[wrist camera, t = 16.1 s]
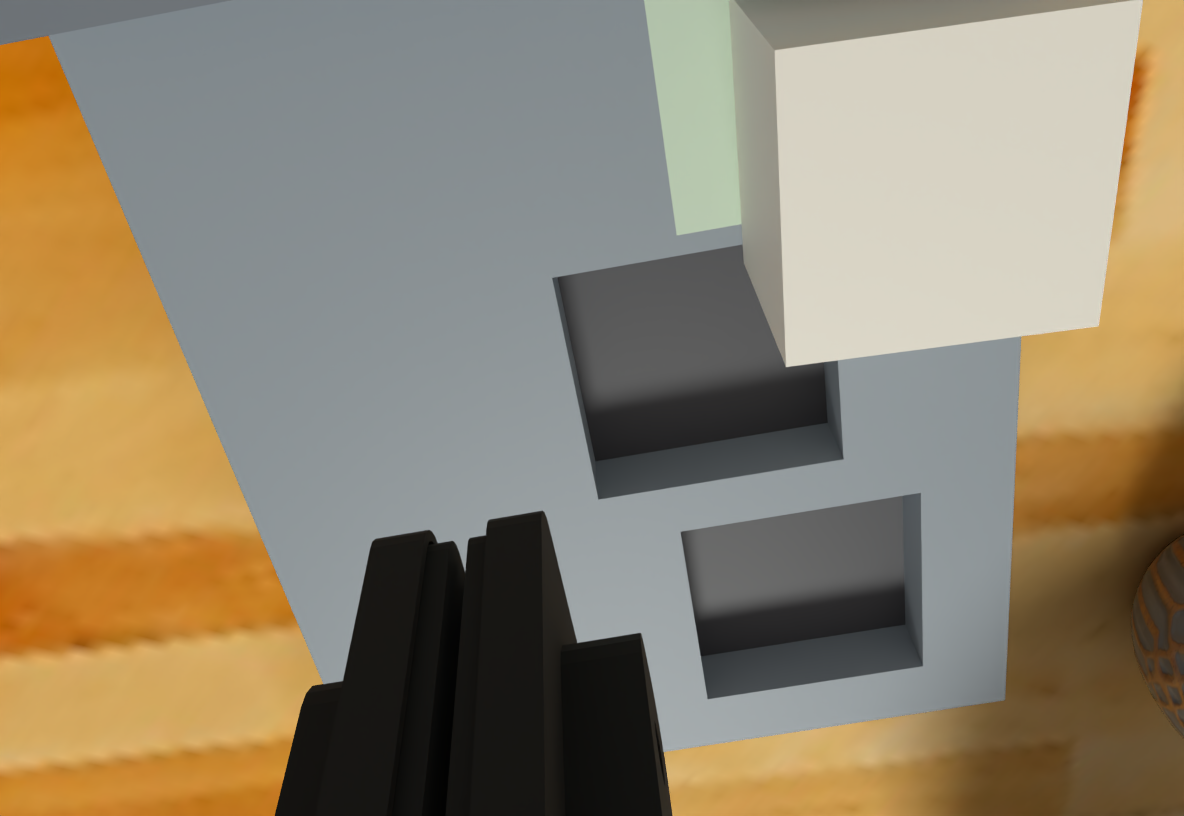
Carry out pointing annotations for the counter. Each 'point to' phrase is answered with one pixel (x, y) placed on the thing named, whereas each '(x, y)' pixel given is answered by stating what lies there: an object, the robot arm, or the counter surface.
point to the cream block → (928, 167)
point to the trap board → (545, 341)
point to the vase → (1162, 631)
